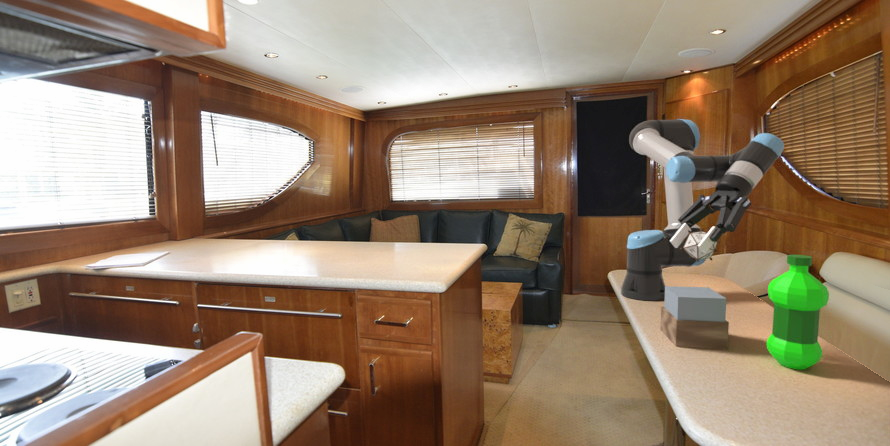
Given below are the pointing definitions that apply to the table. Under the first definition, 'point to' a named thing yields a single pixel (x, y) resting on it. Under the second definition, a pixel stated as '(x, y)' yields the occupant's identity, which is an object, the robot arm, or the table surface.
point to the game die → (693, 249)
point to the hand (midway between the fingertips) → (686, 246)
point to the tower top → (695, 304)
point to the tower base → (694, 332)
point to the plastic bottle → (796, 315)
